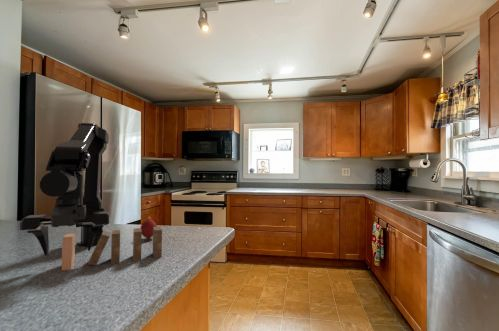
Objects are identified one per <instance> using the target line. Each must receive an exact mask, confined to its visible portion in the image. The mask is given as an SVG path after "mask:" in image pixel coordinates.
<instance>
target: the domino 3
mask: <svg viewBox="0 0 499 331" xmlns="http://www.w3.org/2000/svg"><path fill="white" fill-rule="evenodd" d="M132 233H133V234H132V235H133V236H132V237H133V238H132V241H133V242H132V244H133V245H132V260H133V261H134V262H136V261H142V236H143V235H142V231H141V227H138V228H135V227H134V228H133V232H132Z"/></svg>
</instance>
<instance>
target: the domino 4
mask: <svg viewBox="0 0 499 331" xmlns="http://www.w3.org/2000/svg"><path fill="white" fill-rule="evenodd" d="M162 247H163V230H162V227H161V226H157V227H153V236H152V256H153V258H154V259H157V258H162V257H163V256H162V252H163V251H162V250H163V248H162Z"/></svg>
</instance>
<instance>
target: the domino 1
mask: <svg viewBox="0 0 499 331" xmlns="http://www.w3.org/2000/svg"><path fill="white" fill-rule="evenodd" d="M110 237H111V232H109V231H106V230H103V232H102V235H101V237H100V239H99V241H98V243H97V244H96V245H95V248H94V249H93V252H92V254H91V255H90V257H89V260H88V262H87V265H91V266H95V267H96V266H97V265H98V262H99V261H100V258H101V256H102V254H103V252H104V250H105V247H106V245H107V243H108V240H109V239H110Z"/></svg>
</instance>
